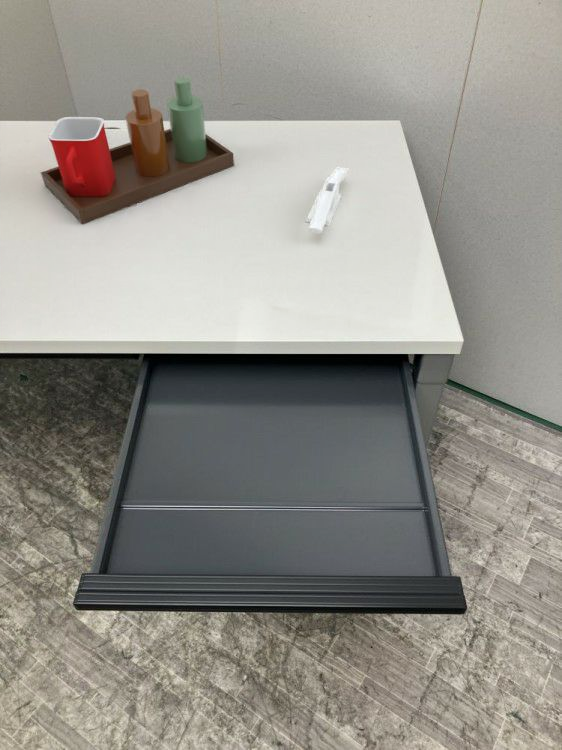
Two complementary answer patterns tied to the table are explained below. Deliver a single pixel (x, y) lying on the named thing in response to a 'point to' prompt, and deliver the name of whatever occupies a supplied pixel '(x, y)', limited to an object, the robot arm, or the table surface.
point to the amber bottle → (147, 137)
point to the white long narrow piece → (326, 201)
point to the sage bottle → (187, 123)
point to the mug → (83, 156)
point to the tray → (138, 180)
